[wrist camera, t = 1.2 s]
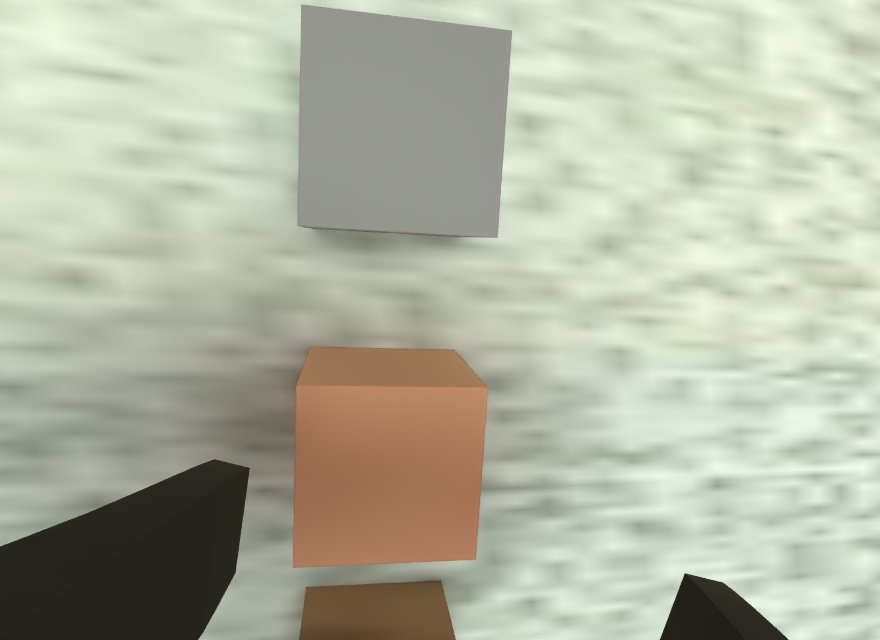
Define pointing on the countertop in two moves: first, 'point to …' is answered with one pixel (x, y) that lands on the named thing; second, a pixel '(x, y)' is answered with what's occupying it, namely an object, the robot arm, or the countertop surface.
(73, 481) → the countertop surface
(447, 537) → the terracotta block
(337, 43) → the slate block
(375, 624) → the walnut block
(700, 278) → the countertop surface
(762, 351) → the countertop surface
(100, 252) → the countertop surface
